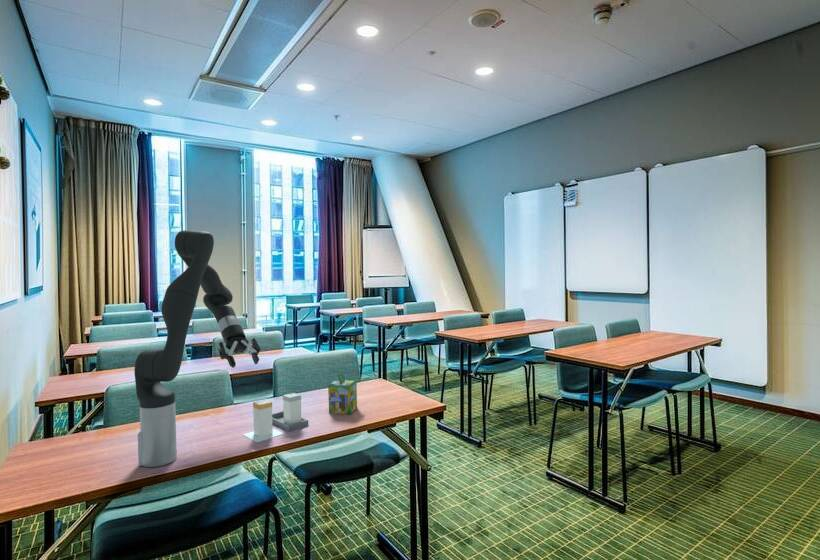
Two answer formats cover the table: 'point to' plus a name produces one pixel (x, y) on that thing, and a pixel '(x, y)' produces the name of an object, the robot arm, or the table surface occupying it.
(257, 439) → the blue-grey pad
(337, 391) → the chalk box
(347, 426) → the table surface
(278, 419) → the charcoal tray
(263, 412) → the orange-band box
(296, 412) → the grey-band box
